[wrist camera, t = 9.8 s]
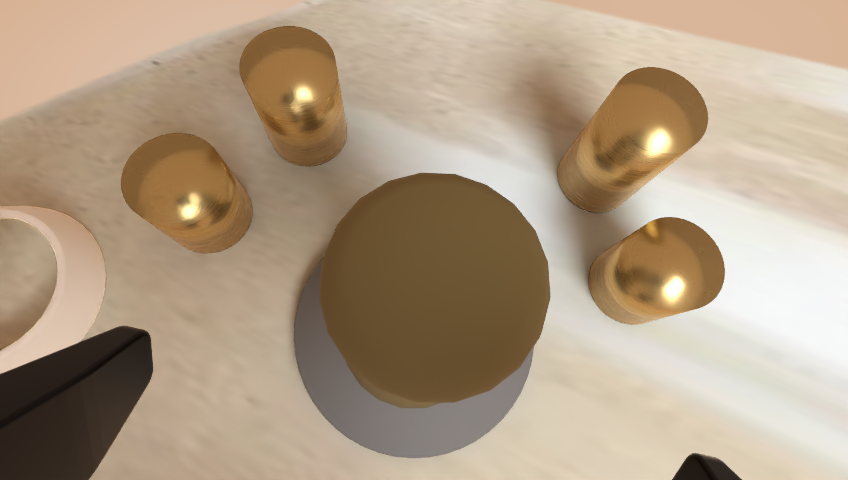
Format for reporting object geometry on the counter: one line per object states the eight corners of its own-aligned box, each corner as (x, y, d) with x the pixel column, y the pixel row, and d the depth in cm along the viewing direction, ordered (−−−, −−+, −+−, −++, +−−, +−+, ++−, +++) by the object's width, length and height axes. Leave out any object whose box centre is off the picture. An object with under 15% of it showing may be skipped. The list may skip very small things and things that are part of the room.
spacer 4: (640, 341, 21) (696, 330, 17) (573, 289, 21) (613, 267, 18) (680, 279, 22) (740, 256, 18) (615, 232, 22) (661, 199, 19)
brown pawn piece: (378, 437, 18) (365, 497, 8) (317, 298, 20) (239, 196, 9) (512, 366, 20) (651, 337, 9) (445, 240, 21) (500, 91, 11)
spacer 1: (209, 269, 21) (168, 241, 17) (151, 219, 21) (99, 181, 17) (269, 210, 22) (243, 172, 18) (212, 163, 22) (175, 115, 18)
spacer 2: (310, 180, 22) (289, 123, 17) (255, 135, 23) (219, 67, 18) (362, 129, 23) (354, 61, 18) (307, 87, 24) (286, 10, 19)
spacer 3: (605, 227, 22) (678, 171, 17) (543, 181, 23) (593, 112, 17) (643, 174, 23) (724, 104, 18) (583, 131, 24) (643, 50, 18)
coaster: (433, 513, 18) (434, 517, 18) (245, 345, 20) (241, 344, 19) (573, 313, 21) (579, 311, 21) (400, 178, 23) (401, 173, 22)
